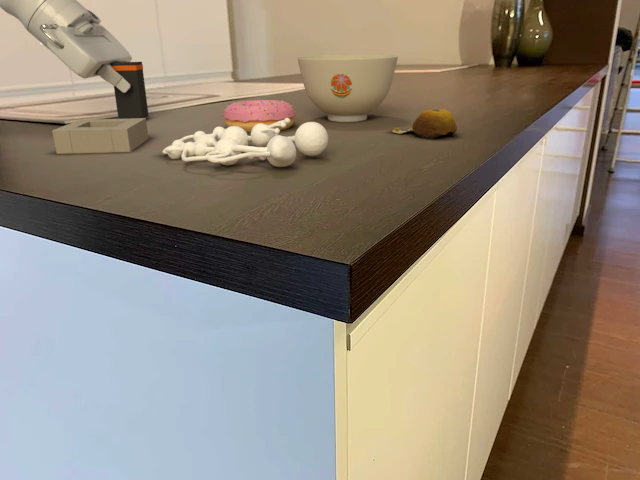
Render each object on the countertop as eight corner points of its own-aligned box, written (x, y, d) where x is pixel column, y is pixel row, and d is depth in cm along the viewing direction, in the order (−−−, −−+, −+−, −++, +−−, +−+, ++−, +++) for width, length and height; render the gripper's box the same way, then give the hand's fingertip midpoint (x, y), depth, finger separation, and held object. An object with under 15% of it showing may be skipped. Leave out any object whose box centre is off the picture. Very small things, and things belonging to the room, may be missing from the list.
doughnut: (209, 130, 82) (206, 102, 80) (261, 121, 89) (260, 95, 88) (259, 138, 75) (257, 107, 73) (310, 127, 83) (310, 99, 81)
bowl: (410, 116, 92) (413, 54, 88) (369, 130, 79) (370, 59, 76) (330, 111, 100) (329, 54, 96) (280, 123, 87) (277, 58, 83)
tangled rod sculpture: (130, 172, 62) (122, 137, 60) (216, 141, 72) (211, 110, 71) (262, 190, 51) (257, 148, 50) (339, 151, 62) (337, 115, 61)
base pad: (56, 154, 66) (51, 130, 65) (83, 141, 75) (79, 119, 74) (130, 153, 67) (127, 128, 66) (148, 139, 75) (145, 118, 74)
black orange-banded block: (118, 119, 90) (109, 63, 87) (125, 116, 94) (117, 62, 90) (142, 119, 90) (135, 62, 87) (149, 115, 94) (142, 61, 91)
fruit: (438, 128, 80) (439, 103, 78) (472, 137, 72) (475, 110, 71) (388, 133, 77) (389, 107, 76) (419, 143, 70) (420, 114, 68)
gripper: (47, 7, 76) (127, 78, 80) (97, 13, 95) (159, 70, 99) (22, 41, 77) (101, 109, 81) (76, 40, 96) (138, 95, 100)
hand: (133, 88), depth 90 cm, fingers closed on black orange-banded block, 4 cm apart
